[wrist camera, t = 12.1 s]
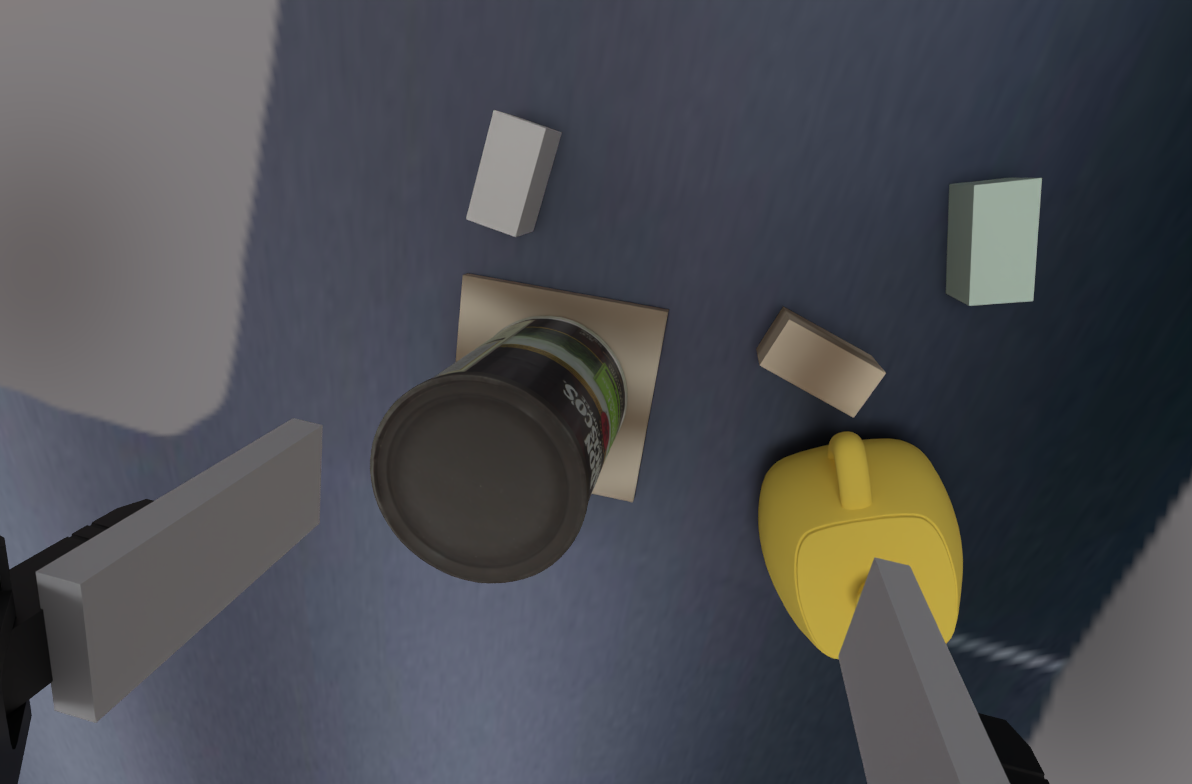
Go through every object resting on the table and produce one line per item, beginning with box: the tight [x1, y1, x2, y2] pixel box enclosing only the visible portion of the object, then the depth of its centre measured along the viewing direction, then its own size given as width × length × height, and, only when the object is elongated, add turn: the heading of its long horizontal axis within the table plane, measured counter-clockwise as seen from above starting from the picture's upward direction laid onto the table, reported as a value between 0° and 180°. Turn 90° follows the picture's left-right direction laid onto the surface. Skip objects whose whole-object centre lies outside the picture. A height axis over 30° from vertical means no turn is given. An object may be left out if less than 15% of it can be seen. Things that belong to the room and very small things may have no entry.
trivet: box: [456, 273, 669, 502], centre depth 44 cm, size 13×13×1 cm
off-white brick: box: [466, 110, 562, 237], centre depth 39 cm, size 6×3×4 cm, turn 162°
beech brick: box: [756, 307, 886, 418], centre depth 39 cm, size 6×3×4 cm, turn 63°
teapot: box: [758, 431, 963, 659], centre depth 39 cm, size 18×11×11 cm, turn 16°
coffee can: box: [370, 316, 628, 583], centre depth 37 cm, size 10×10×14 cm
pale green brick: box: [946, 178, 1042, 306], centre depth 36 cm, size 6×3×4 cm, turn 7°
